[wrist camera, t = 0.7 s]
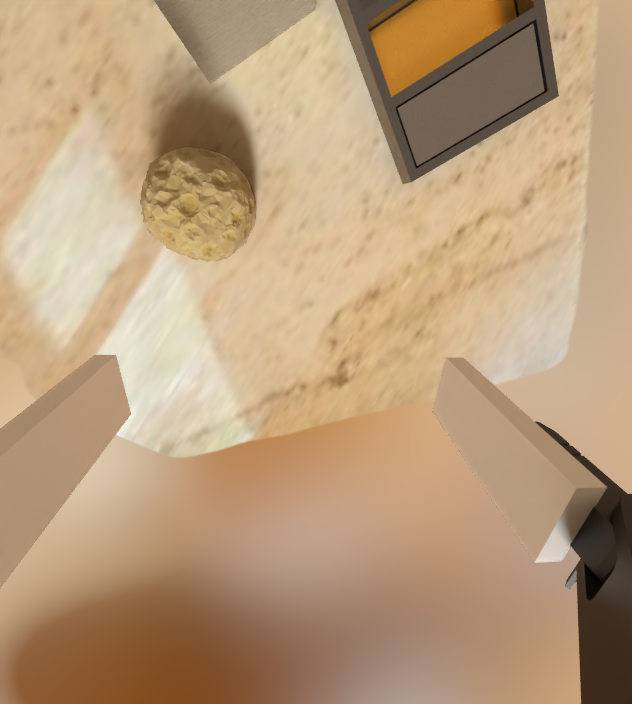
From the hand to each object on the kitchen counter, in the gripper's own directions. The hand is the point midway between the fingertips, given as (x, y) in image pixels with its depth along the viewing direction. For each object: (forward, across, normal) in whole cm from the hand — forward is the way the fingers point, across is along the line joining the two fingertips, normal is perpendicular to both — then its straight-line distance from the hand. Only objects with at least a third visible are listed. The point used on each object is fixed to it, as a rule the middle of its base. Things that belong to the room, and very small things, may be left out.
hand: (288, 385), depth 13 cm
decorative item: (+25, -8, +6) cm, 27 cm away
